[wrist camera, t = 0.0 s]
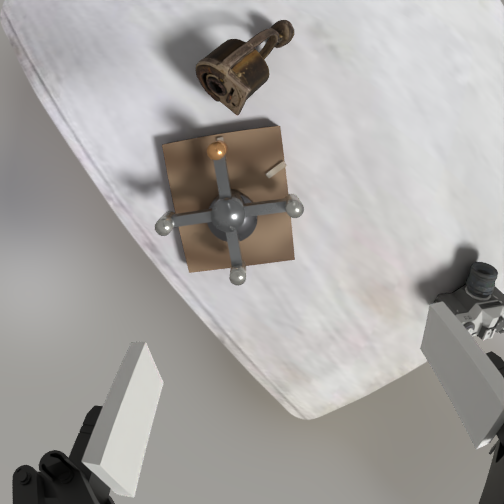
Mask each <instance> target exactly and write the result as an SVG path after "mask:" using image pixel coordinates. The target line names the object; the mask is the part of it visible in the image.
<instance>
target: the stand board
mask: <svg viewBox="0 0 504 504" xmlns="http://www.w3.org/2000/svg"><path fill="white" fill-rule="evenodd" d="M218 140H221V141H224V142H225V143H226V144H227V147H228V150H227V152H226V154H225V155H226V162H227V168H228V174H229V181H230V187H231V189H235V190H237V191H239V192H240V193H243V194H245V195H246V196H248V197H249V198H250V199H251V200H252V201H253V202H260V201H268V200H276V199H284V198H285V196H287V195H288V187H287V179H286V170H285V167H286V166H287V165H286V164H285V161H284V153H283V145H282V137H281V130H280V126H272V127H264V128H256V129H248V130H241V131H234V132H227V133H221V134H215V135H209V136H203V137H198V138H192V139H187V140H182V141H177V142H172V143H167V144H164V145H162V148H163V153H164V159H165V164H166V169H167V174H168V179H169V184H170V189H171V194H172V199H173V204H174V209H175V213H176V214H178V213H184V212H191V211H197V210H204V209H209V207H210V205H211V203H212V201H213V200H214V199H215V198H216V197H217V196H218V195H219V191H218V185H217V179H216V173H215V167H214V161H213V159H211V158H210V157H209V156H208V154H207V148H208V146H209V145H210V144H211V143H213V142H215V141H218ZM179 231H180V236H181V240H182V244H183V249H184V253H185V257H186V261H187V265H188V269H189V273H191V272H200V271H208V270H216V269H224V268H231V259H230V253H229V248H228V242H226V241H223V240H221V239H219V238H217V237H216V236H215V235H214V234H213V233H212V232H211V231H210V229H209V227H208V224H207V223H201V224H194V225H187V226H181V227H179ZM239 242H240V249H241V255H242V260H244V261H245V263H246V266H249V265H257V264H265V263H272V262H280V261H288V260H295V257H294V246H293V236H292V226H291V217H290V216H289V215H288V214H287V212H282V213H274V214H266V215H259V216H257V225H256V228H255V230H254V231H253V233H252V234H251V235H250V236H249V237H248V238H246V239H244V240H242V241H239Z"/></svg>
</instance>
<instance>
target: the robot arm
mask: <svg viewBox="0 0 504 504" xmlns="http://www.w3.org/2000/svg"><path fill="white" fill-rule="evenodd" d="M420 349H421V350H422V352H423V354H424V355H425V357H426V359H427V360H428V362H429V364H430V365H431V367H432V369H433V370H434V372H435V374H436V376H437V377H438V379H439V381H440V382H441V384H442V386H443V388H444V389H445V391H446V393H447V395H448V397H449V398H450V400H451V402H452V404H453V406H454V408H455V409H456V411H457V413H458V415H459V417H460V419H461V421H462V423H463V425H464V427H465V428H466V430H467V432H468V434H469V436H470V438H471V440H472V442H473V444H474V446H475V449H478V448H480V447H482V446H484V445H486V444H488V443H490V442H491V441H492V439H493V438H494V436H495V435H497V436H498V438H499V440H498V441H497V443H496V444H495V445H494V446H493V447H492V449H491V450H490V452H489V454H491V453H492V452H493V451H494V450H495V451H494V456H493V459H492V463H491V467H490V470H489V474H488V477H487V480H486V484H485V487H484V490H483V493H482V496H481V498H480V502H479V504H504V361H503V360H502V359H501V357H499V356H498V355H496V354H495V353H493V352H489V353H485V352H484V351H483V350H482V348H481V347H480V346H479V345H478V343H477V342H476V341H475V339H474V338H473V337H472V336H471V334H470V333H469V332H468V331H467V329H466V328H465V327H464V326H463V325H462V323H461V322H460V321H459V320H458V319H457V317H456V316H455V315H454V314H453V313H452V311H451V310H450V309H449V308H448V307H447V306H446V304H445V303H444V302H443V301H442V302H438V303H434V304H430V306H429V311H428V316H427V321H426V326H425V331H424V336H423V340H422V344H421V348H420ZM162 386H163V381H162V378H161V376H160V374H159V372H158V370H157V367H156V365H155V363H154V360H153V358H152V356H151V353H150V351H149V349H148V347H147V344H146V342H131V344H130V346H129V348H128V350H127V352H126V355H125V357H124V359H123V361H122V363H121V365H120V368H119V370H118V372H117V375H116V377H115V379H114V381H113V384H112V386H111V388H110V391H109V393H108V395H107V398H106V400H105V403H104V405H103V406H94V407H93V408H92V409H91V410H90V411H89V412H88V413H87V415H86V417H85V420H84V422H83V426H82V427H81V429H80V433H79V434H78V436H77V439H76V441H75V443H74V446H73V448H72V451H71V454H70V456H69V458H68V457H67V456H66V455H65V454H64V453H62V452H60V451H56V450H54V451H49V452H48V453H46V454H45V455H44V456H43V457H42V458H41V460H40V463H39V470H40V471H41V472H37V471H36V470H35V469H34V468H33V467H31V466H29V465H23V466H20V467H19V468H17V469H16V471H15V472H14V474H13V504H115V503H114V501H113V500H112V498H111V497H110V496H109V492H110V489H111V490H113V491H114V492H115V493H116V494H118V495H123V496H129V497H135V492H136V488H137V484H138V479H139V475H140V471H141V467H142V463H143V459H144V455H145V450H146V447H147V443H148V439H149V435H150V431H151V426H152V423H153V419H154V416H155V412H156V408H157V404H158V401H159V397H160V393H161V390H162Z"/></svg>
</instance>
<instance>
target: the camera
mask: <svg viewBox="0 0 504 504" xmlns="http://www.w3.org/2000/svg"><path fill="white" fill-rule="evenodd" d="M497 274H498V272H497V270H496V269H495V268H494V267H493V266H491V265H489V264H487V263H483V262H475V263H473V264H472V266H471V269H470V274H469V276H468V280H466V285H465V286H463V287H461V288H460V289H458V290H457V291H455V292H453V293H448V294H439V295H438V296H437V299H436V300H435V303H438V302H442V301H443V302H444V303H445V304H446V306H447V307H448V308H449V309H450V310H451V311H452V313H453V314H454V315H455V316H456V317H457V319H458V320H459V321H460V322H461V323H462V325H463V326H464V327H465V328H466V329H467V331H468V332H469V333H470V334H471V336H475V335H477V336H479V337H480V338H481V339H482V340H483V341H484V340H485V339H487V338H491V339H492V337H493V335H494V333H495V332H500V333H503V332H504V294H503V293H502V292H501V291H499V290H498V289H497V288H496V287H494V286H495V280H496V279H497Z"/></svg>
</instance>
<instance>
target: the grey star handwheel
mask: <svg viewBox="0 0 504 504" xmlns="http://www.w3.org/2000/svg"><path fill="white" fill-rule="evenodd" d="M227 150H228V147H227V144H226V143H225V142H224V141H221V140H218V141H215V142H213V143H211V144H210V145H209V146H208V148H207V154H208V156H209V157H210V158H211V159H213V161H214V167H215V173H216V179H217V185H218V191H219V195H218V196H217V197H216V198H215V199H214V200H213V201H212V203H211V205H210V207H209V209H204V210H197V211H191V212H184V213H178V214H175V213H173V212H171V211H168V212H166V213H164V214H163V216H162V217H161V218H160V219H159V220H158V221H157V223H156V224H155V230H156V232H157V233H158V234H159V235H161V236H166V235H168V234H169V233H170V231H171V230H172V229H173V228H174V227H181V226H187V225H194V224H201V223H207V224H208V227H209V229H210V231H211V232H212V233H213V234H214V235H215V236H216V237H217V238H219V239H221V240H223V241H226V242H228V248H229V253H230V259H231V270H230V281H231V283H232V284H234V285H242V284H243V283H244V282H245V280H246V263H245V261H244V260H242V255H241V249H240V242H239V241H242V240H244V239H246V238H248V237H249V236H250V235H251V234H252V233H253V231H254V230H255V228H256V225H257V216H259V215H266V214H274V213H282V212H287V214H288V215H289V216H290V217H292V218H298V217H300V216H301V215H302V214H303V211H304V207H303V205H302V203H301V202H300V200H299V198H298V197H297V196H296V195H294V194H288V195H287V196H285V198H284V199H276V200H268V201H260V202H253V201H252V200H251V199H250V198H249V197H248V196H246V195H245V194H243V193H240V192H239V191H237V190H235V189H231V187H230V181H229V174H228V168H227V162H226V155H225V154H226V152H227Z"/></svg>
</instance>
